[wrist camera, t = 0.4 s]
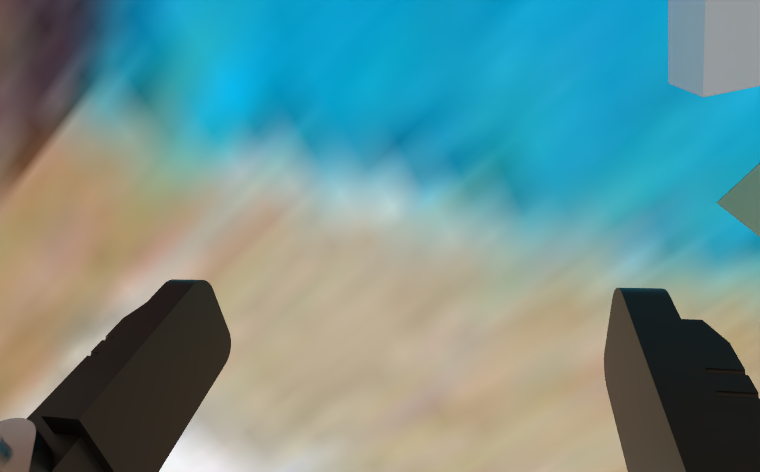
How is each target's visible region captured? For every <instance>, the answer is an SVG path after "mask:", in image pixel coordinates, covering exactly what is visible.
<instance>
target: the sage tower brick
mask: <svg viewBox="0 0 760 472" xmlns="http://www.w3.org/2000/svg"><path fill="white" fill-rule="evenodd" d="M717 204H719V205H720V206H721V207H722V208H724V209H725V210H726V211H728V212H729V213H730V214H731V215H733V216H734V217H735V218H736V219H738V220H739V221H740V222H742V223H743V224H744V225H745V226H747V227H748V228H749V229H750V230H752V231H753V232H754V233H756V234H757V235H758V236H759V237H760V163H759V164H758V165H757V166H756V167H755V168H754V169H753V170H752V171H751V172H750V173H748V174H747V175H746V176H745V177H744V178H743V179H742V180H741V181H740V182H739V183H738V184H737V185H735V186H734V187H733V188H732V189H731V190H730V191H729V192H728V193H727V194H726V195H725V196H724V197H722V198H721V199H720V200H719V201H718V202H717Z"/></svg>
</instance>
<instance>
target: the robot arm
mask: <svg viewBox="0 0 760 472" xmlns="http://www.w3.org/2000/svg"><path fill="white" fill-rule="evenodd" d="M230 348H231V338H230V333H229V330H228V328H227V325H226V322H225V320H224V317H223V315H222V312H221V309H220V307H219V304H218V301H217V299H216V296H215V294H214V291H213V288H212V286H211V285H210V284H209V283H208V282H207V281H205V280H169V281H167V282H166V283H165V284H164V285H163V286H162V287H161V288H160V289H159V290H158V291H157V292H156V293H155V294H154V295H153V296H152V297H151V299H150V300H149V301H148V302H147V303H145V304H144V305H142V306H141V307H139V308H138V309H136V310H135V311H133V312H132V313H130V314H129V315H127V316H126V317H124V318H123V319H122V320H121V321H120V322H119V323H118V324H117V325H116V326H115V327H114V328H113V329H112V330H111V332H110V333H109V334H108V335H107V336H106V340H102V341H101V342H100V343H99V344H98V345H97V346H96V347H95V348H94V349H93V350H92V351H91V356H87V357H86V358H85V359H84V360H83V361H82V362H81V363H80V364H79V365H78V366H77V367H76V368H75V369H74V370H73V371H72V372H71V373H70V374H69V375H68V376H67V377H66V378H65V379H64V381H63V382H62V383H61V384H60V385H59V386H58V387H57V388H56V389H55V390H54V391H53V392H52V393H51V394H50V395H49V396H48V397H47V398H46V399H45V400H44V401H43V402H42V403H41V405H40V406H39V407H38V408H37V409H36V410H35V411H34V412H33V413H32V414H31V415H30V416H29V417H28V418H27V419H24V418H13V419H7V420H3V421H0V472H159V470H160V469H161V467H162V465H163V464H164V462H165V461H166V459H167V457H168V456H169V454H170V453H171V451H172V449H173V448H174V446H175V444H176V443H177V441H178V440H179V438H180V436H181V435H182V433H183V432H184V430H185V428H186V427H187V425H188V423H189V422H190V420H191V419H192V417H193V415H194V414H195V412H196V411H197V409H198V407H199V406H200V404H201V403H202V401H203V399H204V398H205V396H206V394H207V393H208V391H209V390H210V388H211V386H212V385H213V383H214V382H215V380H216V378H217V377H218V375H219V373H220V372H221V370H222V369H223V367H224V365H225V364H226V362H227V360H228V357H229V354H230ZM604 371H605V380H606V386H607V390H608V394H609V398H610V402H611V406H612V410H613V414H614V418H615V422H616V426H617V430H618V434H619V438H620V442H621V446H622V450H623V454H624V458H625V462H626V466H627V470H628V472H760V399H759V397H758V391H757V390H756V388H755V386H754V385H753V383H752V381H751V379H750V378H749V376H748V375H745V369H744V367H743V365H742V364H741V362H740V360H739V359H738V357H737V355H736V353H735V352H734V350H733V348H732V346H731V345H730V343H729V342H728V341H727V340H725V339H724V338H723V337H722V336H721V335H720V334H718V333H717V332H716V331H715V330H714V329H712V328H711V327H710V326H709V325H708V324H706V323H705V322H704V321H703V320H689V319H681V318H680V316H679V314H678V312H677V310H676V308H675V306H674V304H673V302H672V300H671V297H670V295H669V294H668V292H667V291H666V290H665V289H654V288H616V289H615V291H614V294H613V299H612V305H611V312H610V319H609V325H608V332H607V339H606V345H605V353H604Z"/></svg>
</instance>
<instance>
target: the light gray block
mask: <svg viewBox="0 0 760 472" xmlns="http://www.w3.org/2000/svg"><path fill="white" fill-rule="evenodd" d="M668 83H669V84H671V85H674V86H676V87H679V88H681V89H684V90H686V91H689V92H691V93H694V94H696V95H699V96H701V97H707V96H712V95H717V94H722V93H727V92H732V91H737V90H742V89H747V88H752V87H757V86H760V0H668Z"/></svg>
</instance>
